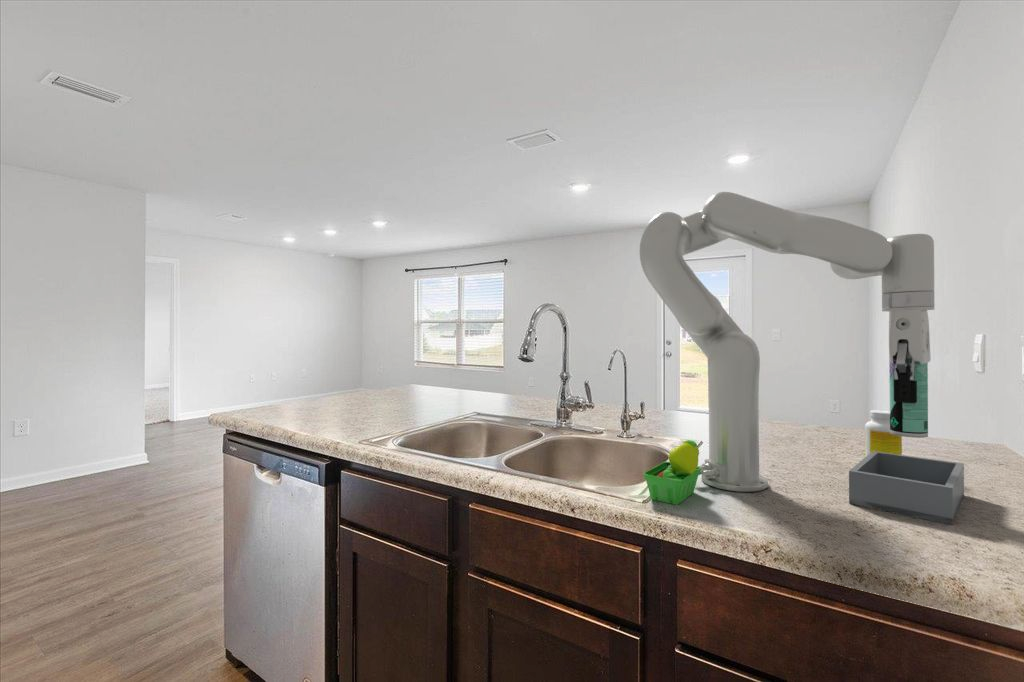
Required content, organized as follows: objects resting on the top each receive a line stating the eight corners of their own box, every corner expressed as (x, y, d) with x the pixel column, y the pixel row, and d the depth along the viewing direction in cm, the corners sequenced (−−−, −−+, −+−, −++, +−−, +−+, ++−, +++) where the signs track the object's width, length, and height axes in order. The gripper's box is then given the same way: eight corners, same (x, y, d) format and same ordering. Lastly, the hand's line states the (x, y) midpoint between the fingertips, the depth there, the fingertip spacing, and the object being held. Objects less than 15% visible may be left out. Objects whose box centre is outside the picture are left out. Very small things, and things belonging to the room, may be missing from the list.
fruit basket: (665, 484, 101) (664, 431, 100) (708, 493, 95) (708, 436, 95) (641, 500, 92) (641, 441, 92) (688, 510, 86) (687, 447, 86)
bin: (952, 525, 78) (952, 488, 78) (849, 503, 88) (848, 470, 88) (963, 494, 92) (963, 463, 91) (873, 479, 102) (873, 450, 102)
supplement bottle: (908, 472, 106) (908, 414, 106) (874, 471, 107) (874, 413, 107) (891, 464, 112) (891, 409, 112) (859, 463, 114) (859, 409, 113)
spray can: (922, 432, 91) (921, 326, 90) (932, 438, 86) (932, 326, 86) (886, 430, 93) (885, 327, 93) (894, 436, 88) (893, 327, 88)
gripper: (927, 300, 80) (928, 408, 81) (940, 302, 92) (940, 397, 93) (872, 302, 86) (873, 404, 86) (890, 305, 98) (891, 394, 98)
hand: (908, 399), depth 89 cm, fingers closed on spray can, 5 cm apart
